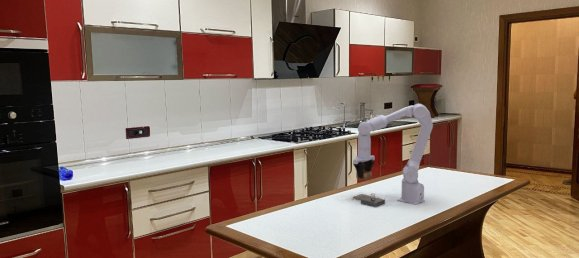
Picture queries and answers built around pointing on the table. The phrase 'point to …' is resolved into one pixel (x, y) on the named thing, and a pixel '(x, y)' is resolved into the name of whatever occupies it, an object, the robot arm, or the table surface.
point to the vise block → (372, 201)
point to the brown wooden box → (365, 175)
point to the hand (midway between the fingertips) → (363, 177)
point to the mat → (360, 196)
